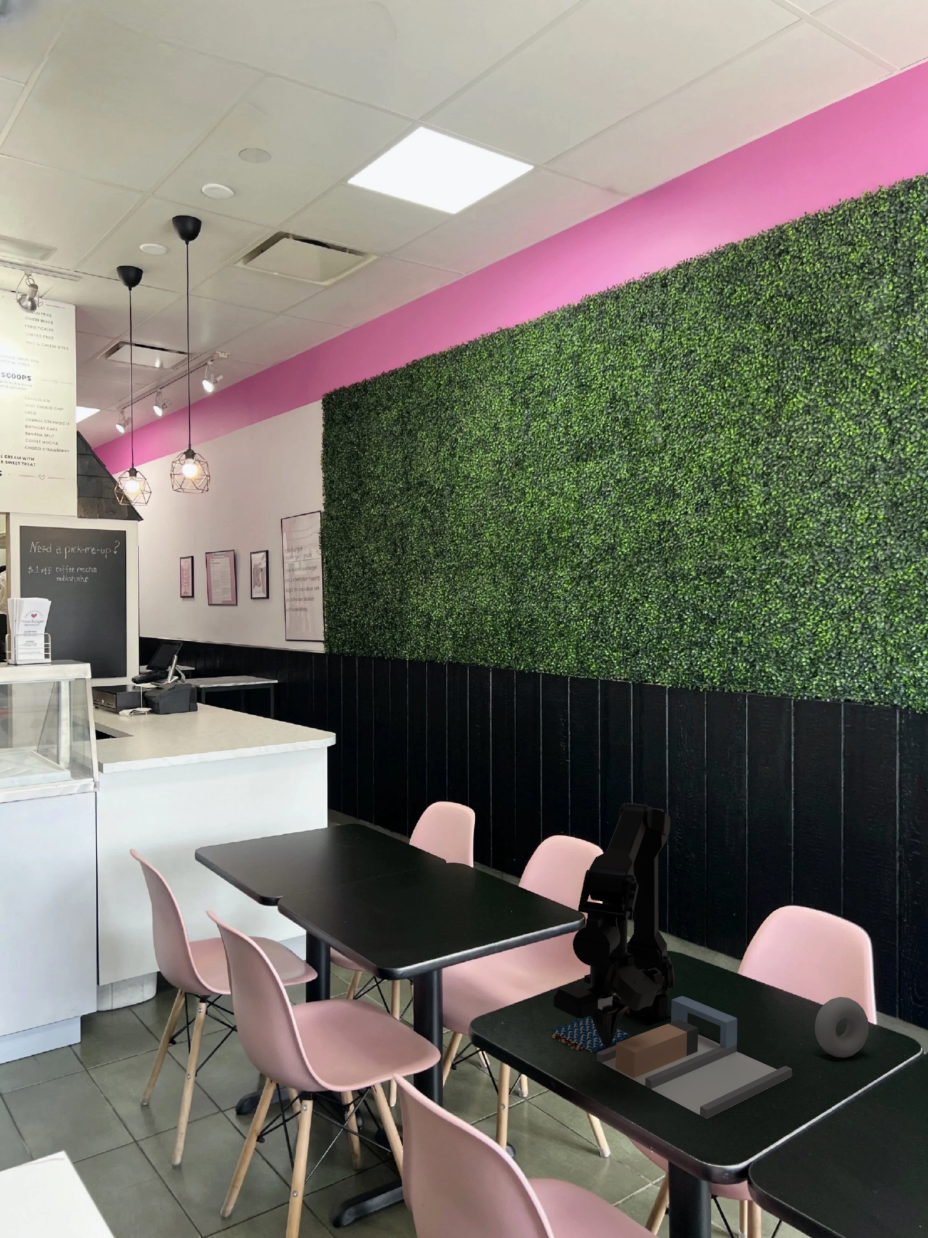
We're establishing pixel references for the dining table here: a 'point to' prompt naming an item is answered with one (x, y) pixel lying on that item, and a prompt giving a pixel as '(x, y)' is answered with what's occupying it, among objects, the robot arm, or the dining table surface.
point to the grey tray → (707, 1067)
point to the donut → (854, 1032)
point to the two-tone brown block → (656, 1048)
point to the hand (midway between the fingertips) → (606, 1045)
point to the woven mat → (583, 1035)
